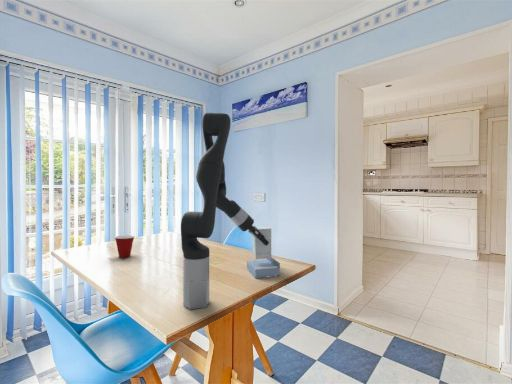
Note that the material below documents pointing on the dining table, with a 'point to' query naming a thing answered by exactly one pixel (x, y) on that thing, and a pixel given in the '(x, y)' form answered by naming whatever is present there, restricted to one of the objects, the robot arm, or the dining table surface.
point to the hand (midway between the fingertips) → (265, 242)
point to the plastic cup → (124, 245)
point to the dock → (264, 267)
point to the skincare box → (258, 247)
